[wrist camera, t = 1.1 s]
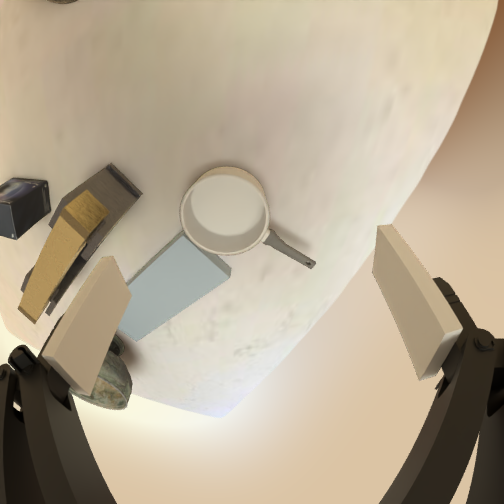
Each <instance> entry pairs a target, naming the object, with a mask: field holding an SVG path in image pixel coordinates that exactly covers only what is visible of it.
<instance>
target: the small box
mask: <svg viewBox="0 0 504 504" xmlns="http://www.w3.org/2000/svg"><path fill="white" fill-rule="evenodd" d="M50 212H51V209H50V202H49V193H48V183H47V181H40V180H30V179H20V178H12V179H10V180H9V181H7V182H5V183H4V184H2V185H1V186H0V236H3V237H7V238H10V239H14V240H17V239H18V238H20V237H21V236H22V235H23V234H24V233H25V232H26V231H28V230H29V229H30V228H31V227H32V226H33V225H34V224H36V223H37V222H38V221H39V220H40V219H42V218H43V217H44V216H46V215H47V214H48V213H50Z"/></svg>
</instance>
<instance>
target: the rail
mask: <svg viewBox="0 0 504 504" xmlns="http://www.w3.org/2000/svg"><path fill="white" fill-rule="evenodd" d="M109 212H110V211H109V210H108V209H107V208H105V207H104V206H103V205H102V204H101V203H100V202H99V201H98V200H97V199H96V198H95V197H94V196H93V195H92V194H91V193H90V192H89V191H88V190H87V189H86V190H85V191H84V192H82V193H81V194H80V195H79V196H77V197H76V198H75V199H73V200H72V201H71V202H70V203H68V204H67V205H66V206H65V207H64V208H63V209H62V211H61V213H60V216H59V218H58V220H57V221H56V223H55V225H54V227H53V229H52V231H51V233H50V235H49V237H48V239H47V241H46V243H45V245H44V247H43V249H42V251H41V253H40V255H39V258H38V260H37V262H36V264H35V267H34V269H33V271H32V274H31V276H30V279H29V281H28V283H27V286H26V289H25V291H24V294H23V297H22V299H21V302H20V305H19V307H18V310H19V311H20V312H21V313H23V314H24V315H25V316H26V317H27V318H28V319H29V320H30V321H31V322H33V323H34V324H35V323H36V322H37V320H38V319H39V317H40V316H41V314H42V312H43V311H44V309H45V308H46V307H47V305H48V303H49V301H50V299H51V298H52V296H53V294H54V292H55V291H56V289H57V287H58V286H59V284H60V282H61V281H62V279H63V278H64V276H65V274H66V273H67V271H68V270H69V268H70V267H71V265H72V264H73V262H74V260H75V259H76V257H77V256H78V254H79V253H80V252H81V250H82V249H83V247H84V246H85V244H86V243H87V241H88V240H89V239H90V237H91V236H92V234H93V233H94V232H95V230H96V229H97V228H98V226H99V225H100V224H101V222H102V221H103V220H104V219H105V218H106V216H107V215H108V214H109Z"/></svg>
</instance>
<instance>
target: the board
mask: <svg viewBox="0 0 504 504" xmlns="http://www.w3.org/2000/svg"><path fill="white" fill-rule="evenodd" d="M230 273H231V268H230V267H229V266H228V265H227V264H226V263H225V262H224V261H223V260H221V259H220V258H219V257H218V256H217V255H216V254H212V253H209V252H207V251H205V250H203V249H201V248H199V247H198V246H196V245H195V244H194V243H193V242H192V241H191V240H190V239H189V238H188V236H187V235H186V233H185V232H184V230H183V231H182V232H181V233H180V234H179V235H177V236H176V237H175V238H174V239H173V240H172V241H171V242H170V243H169V244H168V245H166V246H165V247H164V248H163V249H162V250H161V251H160V252H159V253H158V254H157V255H156V256H155V257H154V258H152V259H151V260H150V261H149V262H148V263H147V264H146V265H145V266H144V267H143V268H142V269H141V270H140V271H139V272H138V273H137V274H136V275H135V276H134V277H133V278H132V279H131V280H129V281H128V282H127V283H126V285H127V287H128V289H129V291H130V293H131V295H132V297H131V299H130V301H129V303H128V306H127V308H126V310H125V312H124V314H123V316H122V319H121V321H120V323H119V325H118V329H119V330H121V331H122V332H123V333H125V334H126V335H128V336H129V337H130V338H132V339H133V340H135V341H136V342H137V341H138V340H140V339H141V338H143V337H144V336H146V335H147V334H149V333H150V332H152V331H153V330H155V329H156V328H158V327H159V326H160V325H162V324H163V323H165V322H166V321H168V320H169V319H171V318H172V317H174V316H175V315H177V314H178V313H179V312H181V311H182V310H184V309H185V308H187V307H188V306H190V305H191V304H193V303H194V302H196V301H197V300H198V299H200V298H201V297H203V296H204V295H206V294H207V293H209V292H210V291H211V290H213V289H214V288H216V287H217V286H219V285H220V284H222V283H223V282H225V281H226V280H227V279H229V278H230Z"/></svg>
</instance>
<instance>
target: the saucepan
mask: <svg viewBox="0 0 504 504" xmlns="http://www.w3.org/2000/svg"><path fill="white" fill-rule="evenodd" d="M180 221H181V225H182V228H183V230H184V232H185V233H186V235H187V236H188V238H189V239H190V240H191V241H192V242H193V243H194V244H195V245H196V246H198V247H199V248H201V249H203V250H205V251H207V252H209V253H212V254H217V255H226V256H229V255H237V254H240V253H244V252H246V251H248V250H250V249H252V248H253V247H254V246H256V245H257V244H258V243H259V242H260V241H261V242H262V243H263V244H265V245H270V246H271V247H273V248H274V249H276V250H278V251H280V252H282V253H284V254H285V255H287V256H289V257H291V258H292V259H294V260H296V261H298V262H299V263H301V264H303V265H305V266H307V267H308V268H310V269H312V268H313V267H314V265H315V264H316V262H315V261H313V260H312V259H310V258H309V257H307V256H305V255H304V254H302V253H300V252H299V251H297V250H295V249H294V248H292V247H290V246H289V245H287V244H285V242H284V241H283V240H281V239H280V238H279V236H278V235H277V234H276V233H275V231H273V230H271V229H268V226H269V221H270V212H269V206H268V204H267V201H266V199H265V194H264V191H263V188H262V186H261V185H260V183H259V182H258V181H257V179H256V178H255V177H254V176H252V175H251V174H250V173H248V172H246V171H244V170H242V169H240V168H235V167H218V168H215V169H212V170H209V171H208V172H206V173H204V174H203V175H202V176H201V177H200V178H199V179H198V180H197V181H196V182H195V183H194V184H193V185H192V186H191V187H190V188H189V189H188V190H187V192H186V193H185V195H184V196H183V199H182V202H181V205H180Z"/></svg>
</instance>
